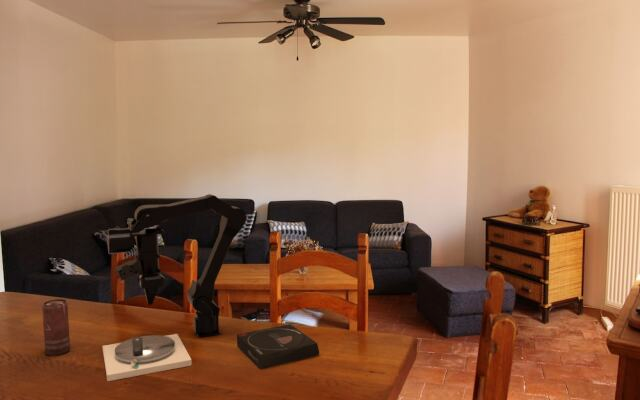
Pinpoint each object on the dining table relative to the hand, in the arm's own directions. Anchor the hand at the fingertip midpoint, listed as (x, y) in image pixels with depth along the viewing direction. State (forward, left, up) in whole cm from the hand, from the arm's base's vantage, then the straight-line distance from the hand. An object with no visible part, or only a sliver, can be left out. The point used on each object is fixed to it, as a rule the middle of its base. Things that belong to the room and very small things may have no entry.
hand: (150, 304), depth 146 cm
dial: (+3, +12, -9) cm, 15 cm away
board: (+3, +11, -11) cm, 16 cm away
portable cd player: (-30, +22, -12) cm, 39 cm away
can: (+24, -4, -11) cm, 27 cm away
